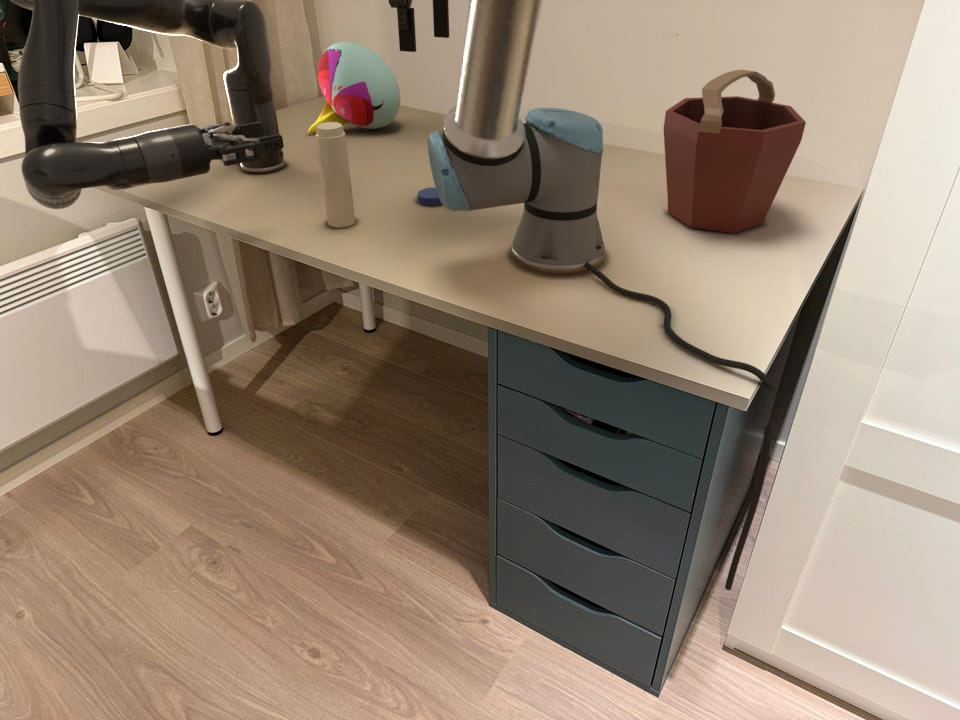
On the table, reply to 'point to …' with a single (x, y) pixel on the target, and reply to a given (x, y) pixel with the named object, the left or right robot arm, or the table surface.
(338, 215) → the jar
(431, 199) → the lid
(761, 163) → the bucket
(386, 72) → the toy
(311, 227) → the table surface
